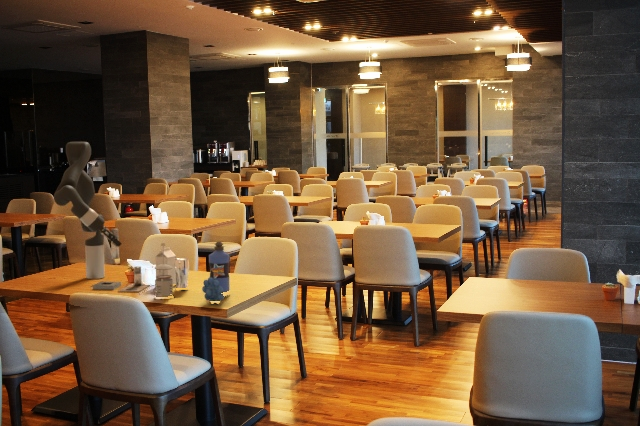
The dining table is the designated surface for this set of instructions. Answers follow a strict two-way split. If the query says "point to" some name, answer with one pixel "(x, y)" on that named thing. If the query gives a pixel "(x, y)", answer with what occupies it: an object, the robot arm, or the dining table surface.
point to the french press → (166, 285)
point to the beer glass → (181, 272)
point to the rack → (134, 288)
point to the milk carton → (169, 260)
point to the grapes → (212, 290)
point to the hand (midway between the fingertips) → (119, 244)
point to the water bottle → (220, 266)
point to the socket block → (106, 285)
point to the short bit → (137, 276)
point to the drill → (114, 246)
